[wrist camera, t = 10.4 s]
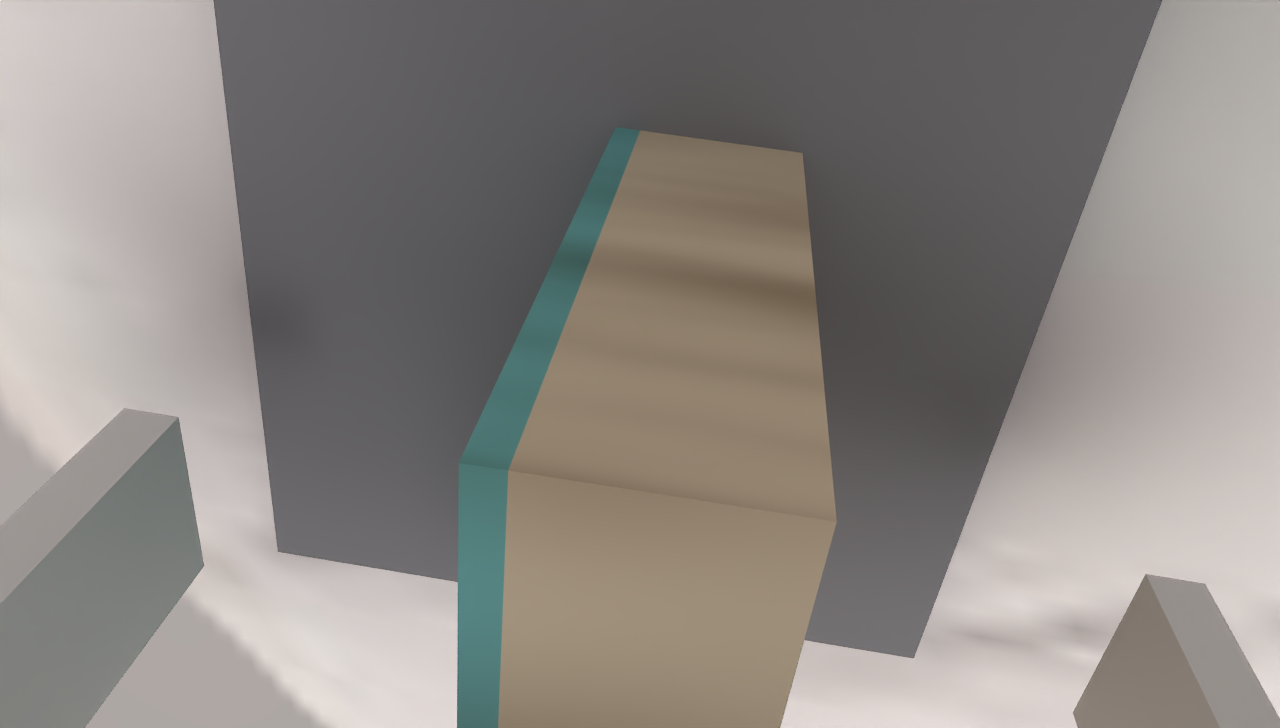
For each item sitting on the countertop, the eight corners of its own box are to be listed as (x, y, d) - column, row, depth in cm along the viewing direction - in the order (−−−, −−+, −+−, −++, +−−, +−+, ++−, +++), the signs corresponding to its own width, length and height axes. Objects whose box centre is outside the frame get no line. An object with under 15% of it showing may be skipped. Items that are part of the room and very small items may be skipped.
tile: (615, 126, 15) (459, 462, 8) (802, 153, 15) (836, 522, 7) (576, 548, 20) (455, 1020, 12) (719, 571, 20) (687, 1063, 12)
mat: (85, -1382, 9) (44, -1452, 8) (1608, -1259, 8) (1663, -1330, 8) (290, 533, 21) (277, 551, 21) (909, 637, 21) (913, 658, 20)
